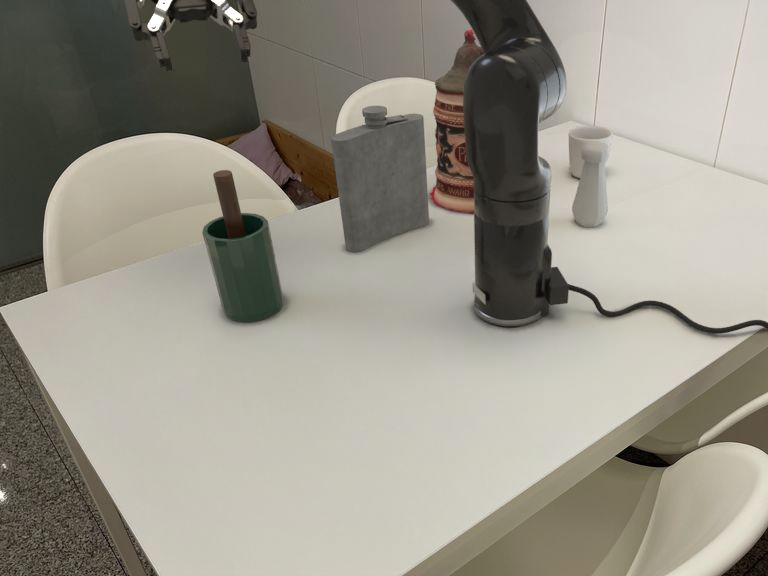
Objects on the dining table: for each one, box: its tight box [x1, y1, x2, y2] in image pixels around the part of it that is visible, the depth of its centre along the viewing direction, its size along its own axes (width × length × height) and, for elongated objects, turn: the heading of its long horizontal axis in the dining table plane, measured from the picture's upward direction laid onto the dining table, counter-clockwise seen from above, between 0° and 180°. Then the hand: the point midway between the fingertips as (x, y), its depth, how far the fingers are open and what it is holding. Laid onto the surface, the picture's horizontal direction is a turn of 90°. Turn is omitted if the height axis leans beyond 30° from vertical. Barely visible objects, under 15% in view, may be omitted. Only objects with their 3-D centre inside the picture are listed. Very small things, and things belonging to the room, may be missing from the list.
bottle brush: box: [212, 169, 246, 239], centre depth 90 cm, size 4×4×18 cm
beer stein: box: [428, 29, 484, 214], centre depth 117 cm, size 17×28×18 cm
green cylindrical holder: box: [201, 212, 285, 323], centre depth 92 cm, size 8×8×12 cm
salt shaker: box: [571, 142, 610, 228], centre depth 111 cm, size 6×6×13 cm
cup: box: [567, 125, 614, 179], centre depth 128 cm, size 11×8×8 cm
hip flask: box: [330, 105, 430, 253], centre depth 107 cm, size 16×4×20 cm, turn 132°
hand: (207, 62), depth 81 cm, fingers open, 8 cm apart
